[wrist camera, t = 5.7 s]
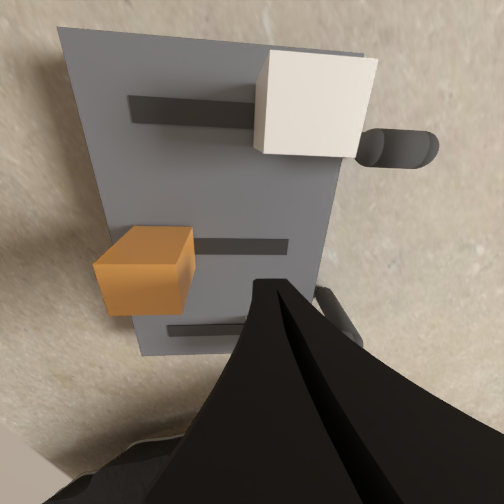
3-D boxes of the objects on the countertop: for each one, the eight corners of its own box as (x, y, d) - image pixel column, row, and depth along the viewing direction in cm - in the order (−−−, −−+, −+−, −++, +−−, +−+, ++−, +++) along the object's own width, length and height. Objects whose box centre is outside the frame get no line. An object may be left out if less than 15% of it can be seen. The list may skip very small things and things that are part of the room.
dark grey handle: (328, 297, 19) (364, 359, 14) (289, 297, 19) (312, 361, 14) (368, 133, 14) (455, 131, 8) (315, 130, 13) (370, 126, 8)
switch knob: (315, 150, 11) (355, 157, 7) (253, 147, 11) (263, 153, 7) (325, 86, 10) (379, 58, 6) (255, 81, 9) (269, 49, 6)
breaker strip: (292, 322, 20) (302, 352, 18) (154, 325, 19) (141, 357, 17) (335, 71, 12) (365, 52, 9) (98, 52, 11) (54, 25, 8)
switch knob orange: (195, 266, 13) (182, 314, 10) (142, 266, 13) (108, 316, 9) (192, 226, 12) (175, 264, 9) (134, 225, 12) (92, 264, 8)
